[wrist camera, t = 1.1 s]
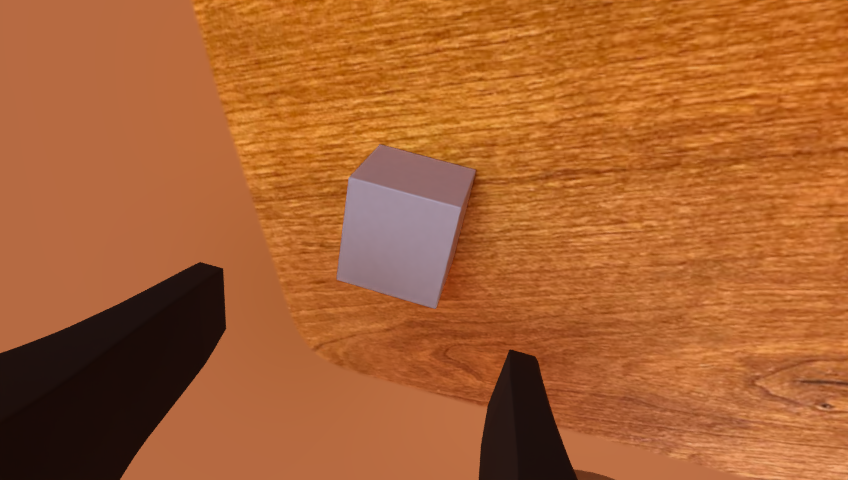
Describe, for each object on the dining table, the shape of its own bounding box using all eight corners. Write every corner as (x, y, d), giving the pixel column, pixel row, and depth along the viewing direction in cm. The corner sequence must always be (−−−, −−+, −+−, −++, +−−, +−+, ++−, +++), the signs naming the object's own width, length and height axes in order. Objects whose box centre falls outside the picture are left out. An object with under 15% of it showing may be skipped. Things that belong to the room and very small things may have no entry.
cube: (452, 261, 23) (435, 310, 20) (365, 236, 23) (335, 280, 20) (476, 169, 20) (461, 208, 17) (379, 143, 21) (348, 176, 18)
